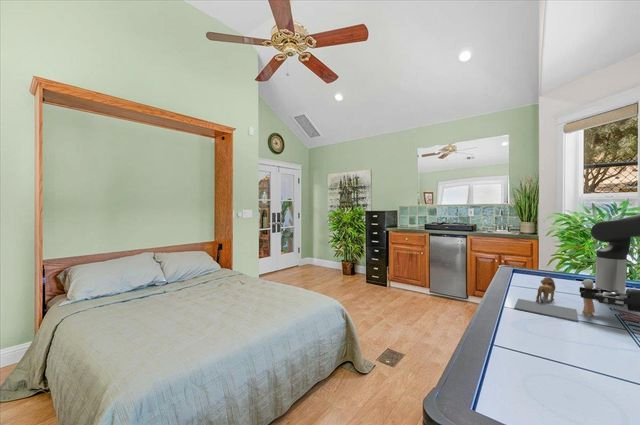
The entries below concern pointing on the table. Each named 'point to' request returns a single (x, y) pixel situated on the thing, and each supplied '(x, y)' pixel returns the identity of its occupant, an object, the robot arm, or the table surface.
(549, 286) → the lion figurine
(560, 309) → the mat
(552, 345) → the table surface
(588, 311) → the grandmother figurine
